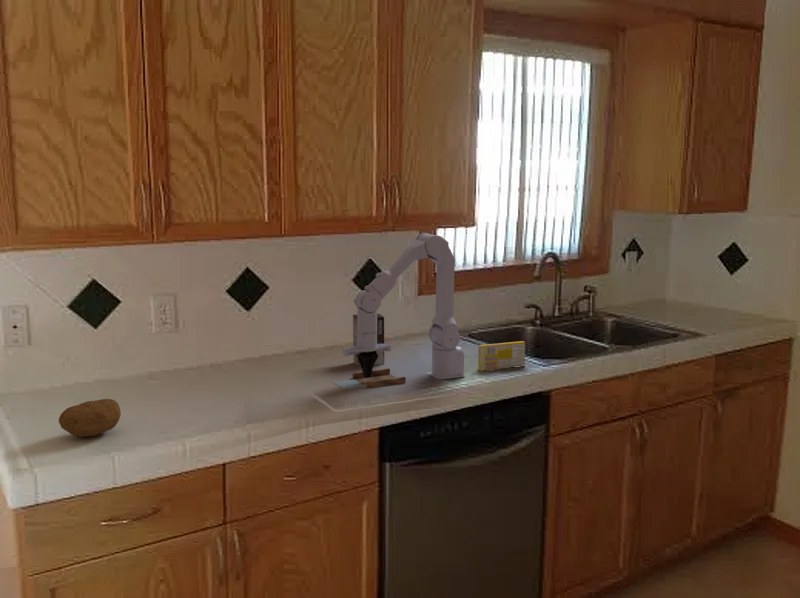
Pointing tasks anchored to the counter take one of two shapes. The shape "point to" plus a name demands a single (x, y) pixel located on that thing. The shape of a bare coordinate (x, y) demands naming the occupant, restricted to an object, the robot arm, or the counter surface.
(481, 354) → the candy box
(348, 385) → the cover plate
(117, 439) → the counter surface
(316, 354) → the counter surface
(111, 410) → the potato
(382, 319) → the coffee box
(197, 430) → the counter surface
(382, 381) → the tray
